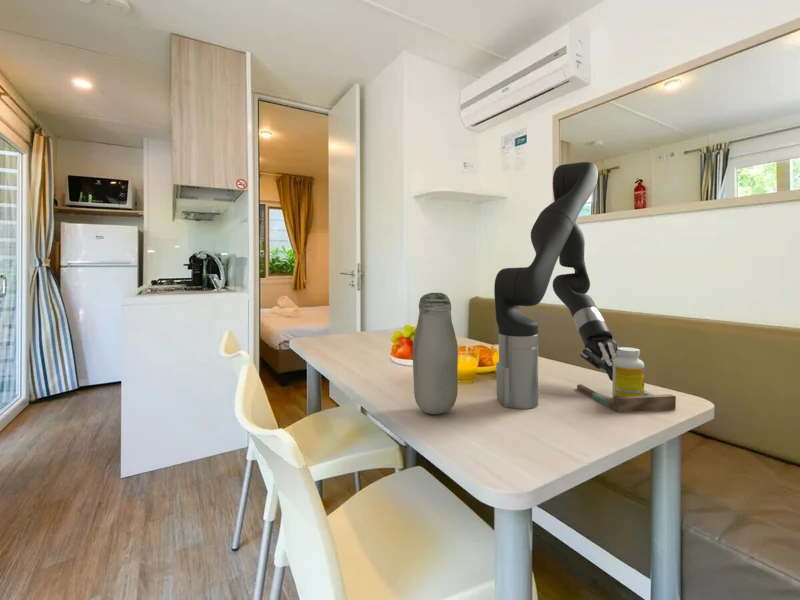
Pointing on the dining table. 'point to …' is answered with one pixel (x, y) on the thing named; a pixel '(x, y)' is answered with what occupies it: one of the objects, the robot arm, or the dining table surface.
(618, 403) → the frame
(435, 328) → the grey bottle
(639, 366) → the supplement bottle
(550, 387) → the dining table surface
